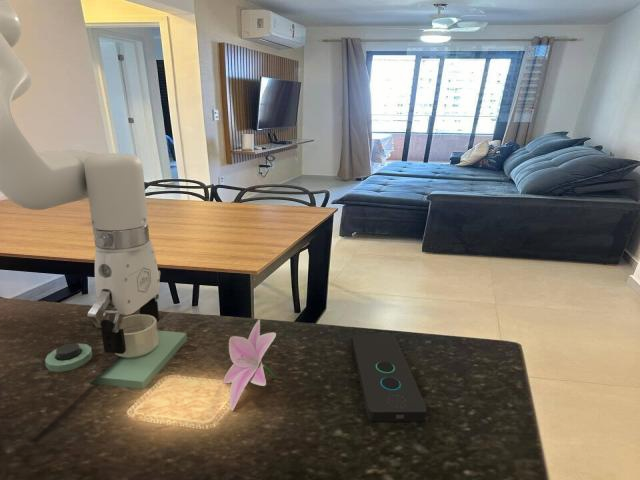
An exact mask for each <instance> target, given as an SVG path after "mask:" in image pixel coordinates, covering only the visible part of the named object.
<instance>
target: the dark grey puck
mask: <svg viewBox="0 0 640 480" xmlns="http://www.w3.org/2000/svg"><path fill="white" fill-rule="evenodd" d="M78 344H79V343H78ZM78 344H77V343H76V342H71V343H66V344H63V345H61V346H59V347H57V348H56V349H57V350H56V349H55V350H56V354H57V359H58V360H59V361H65V360H70V359H73V358H75V357H78V356H79V355H80V347H79V345H78Z"/></svg>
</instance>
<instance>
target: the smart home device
mask: <svg viewBox="0 0 640 480" xmlns="http://www.w3.org/2000/svg"><path fill="white" fill-rule="evenodd" d="M351 348H352V353H353V358H354V362H355V367H356V371H357V376H358V381H359V385H360V386H359V387H360V389H361V394H362V398H363V399H362V400H363V403H364V408H365V413H366V417H367V419H368V420H369V422H372V423H373V422H375V423H378V422H381V423H383V422H388V423H390V422H393V423H394V422H395V423H397V422H425V421H426V417H427V412H428V411H427V410H428V408H427V405H426V403H425V400H424V398H423V396H422V393H421V391H420V389H419V387H418V385H417V382H416V380H415V378H414V376H413V373H412V371H411V369H410V367H409V364H408V362H407V360H406V357H405V355H404V353H403V350H402V347H401V345H400V344H399V341H398V340H397V336H396V335H395V334H393V333H353V334H352V335H351Z"/></svg>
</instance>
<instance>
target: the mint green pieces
mask: <svg viewBox="0 0 640 480" xmlns="http://www.w3.org/2000/svg"><path fill="white" fill-rule="evenodd" d="M158 339H159V342H158V345H157V346H156V347H155V348H154V349H153V350H152V351H151V352H149V353H148V354H145V355H143V356H140V357H135V358H124V357H120V356H118V357H117V359H115V360H114V361H113V362H112V363H111V364H110V365H109V366H107V368H105V369H104V370H103V371H102V372H101V373H100V374H99V375H98V376H97V377H96V378H94V380H92V381H91V382H90V383H89V384H90V385H91V384H92V385H99V386H100V385H101V386H109V387H118V388H127V389H137V390H145V389H146V388H147V387H148V386H149V384H150V383H151V382H152V381H153V380H154V379H155V378H156V376H157V375H158V374H159V373H160V372H161V371H162V369H163V368H164V367H165V366H166V365H167V363H168V362H169V361H170V360H171V359H172V358H173V356H174V355H176V353H177V352H178V351H179V349H180V348H181V347H183V345H184V344H185V343H186V342H187V340H188V333H187V332H179V331H169V330H160V329H159V330H158ZM76 344H78V345H79V347H80V355H79V356H78V357H75V358H73V359H70V360H65V361H59V360H58V359H57V354H56V350H57V349H58V348H55V349H54V350H52V351H51V352H50V353H48V354H47V355H46V357H45V359H44V364H45V368H46V369H47V370H48V371H50V372H55V373H63V372H67V371H68V372H69V371H73V370H75V369H78V368H80V367H82V366H84V365H86V364H87V363H88V362H89V361H90V360H91V359H92V357H93V349H92V347H91V346H90V345H89V344H86V343H79V342H78V343H76Z"/></svg>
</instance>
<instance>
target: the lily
mask: <svg viewBox="0 0 640 480" xmlns="http://www.w3.org/2000/svg"><path fill="white" fill-rule="evenodd" d="M276 337H277V333H276V332H274V331H273V332H267V333H263V334H261V319H260V318H259V319H258V320H257V321H256V322H255V324H254V325H253V327H252V329H251V331H250V333H249V336H248V338H247V337H243V336H237V335H232V336H231V337H229V339H228V351H229V353H228V354H229V356H230V361H231V362H232V363H233V364H232V365H231V366H230V367H229V369H228V370H227V372H226V374H225V376H224V378H223V380H222V382H223V384H230V383H231V385H230V391H229V409H230V412H233V411H234V409H235V408H236V406H237V404H238V402H239V400H240V397H241V395H242V393H243V391H244V390H245V388H246V386H247V385H248V383H249V382H250V383H251V384H253V385H256V386H262V387H265V386H266V385H267V379H266V376H265V370H266V371H267V372H268V374H270V376H271V377H272V378H273V379H274V380H276V379H277V377H276V376H275V374H274V373H273V372H272V371H271V370H270V369H269V368H268V367H267V366H266V365H264V364H263V361H262V359H263V357H264V355H265V354H266V352H267V350H268V349H269V348H270V346H271V345H272V343H273V341H274V340H275V338H276Z"/></svg>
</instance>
